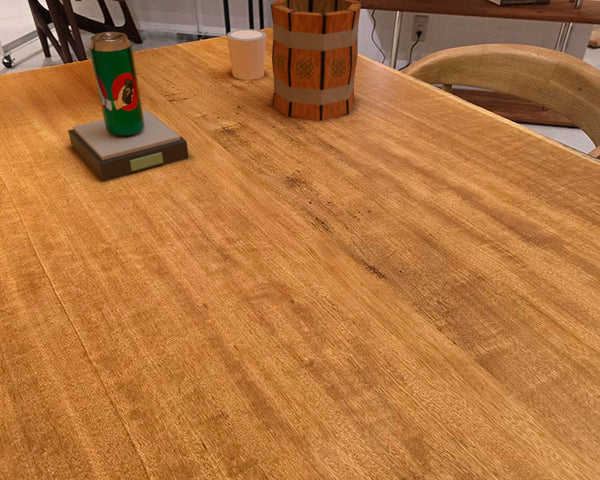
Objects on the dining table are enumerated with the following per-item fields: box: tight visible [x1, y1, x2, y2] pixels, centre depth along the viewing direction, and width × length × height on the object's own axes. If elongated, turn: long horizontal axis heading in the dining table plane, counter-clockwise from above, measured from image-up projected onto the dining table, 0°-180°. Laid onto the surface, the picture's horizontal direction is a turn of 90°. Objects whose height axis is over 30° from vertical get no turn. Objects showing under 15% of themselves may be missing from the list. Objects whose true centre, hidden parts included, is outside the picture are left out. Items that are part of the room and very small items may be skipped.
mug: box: [270, 0, 362, 122], centre depth 93 cm, size 20×14×15 cm
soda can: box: [88, 31, 145, 137], centre depth 75 cm, size 5×5×12 cm
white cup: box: [226, 28, 267, 81], centre depth 104 cm, size 7×7×7 cm
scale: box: [67, 109, 189, 182], centre depth 80 cm, size 12×12×3 cm
